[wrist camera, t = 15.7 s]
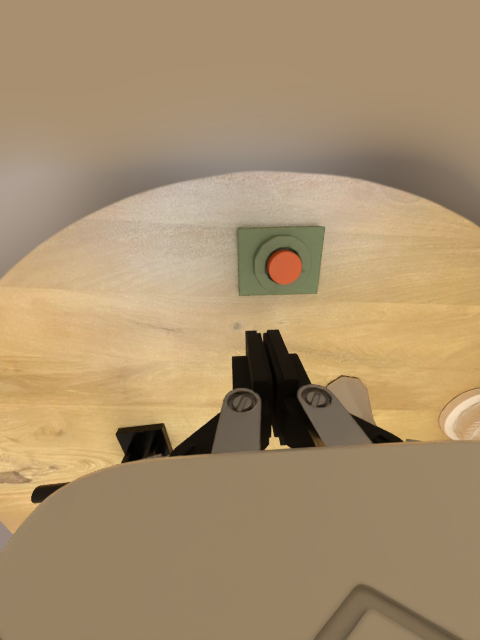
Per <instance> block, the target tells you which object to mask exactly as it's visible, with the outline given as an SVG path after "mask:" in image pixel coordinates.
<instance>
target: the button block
mask: <svg viewBox="0 0 480 640" xmlns="http://www.w3.org/2000/svg"><path fill="white" fill-rule="evenodd" d="M324 232H325V227H322V226H296V227H249V228H238V272H239V295H240V296H250V295H286V294H317V291H318V283H319V274H320V266H321V257H322V249H323V240H324ZM283 249H285V250H289V251H291V252H293V253H295V254H296V255H297V256H298V257H299V258H300V260H301V263H302V271H301V273H300V275H299V277H298V278H297V279H296V280H295V281H294V282H292V283H290V284H285V285H283V284H278V283H276V282H275V281H274V280H273V279H272V278H271V276H270V275H269V273H268V270H267V263H268V260H269V258H270V256H271V255H272V254H273V253H274V252H276V251H278V250H283Z"/></svg>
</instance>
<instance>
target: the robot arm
mask: <svg viewBox="0 0 480 640" xmlns="http://www.w3.org/2000/svg"><path fill="white" fill-rule="evenodd" d="M245 336H246V356H234V357H232V375H233V390H232V391H230V392H228V393H227V394H226V395H225V398H224V400H223V404H222V408H221V412H220V413H219V414H217V415H216V416H215V417H214V418H212V419H211V420H210V421H209V422H207V423H206V424H205V425H204V426H202V427H201V428H200V429H199V430H197V431H196V432H195V433H194V434H192V435H191V436H190V437H189V438H187V439H186V440H185V441H184V442H182V443H181V444H180V445H178V446H177V447H176V448H175V449H174V450H173V451H172V452H171V454H170V455H168V456H164V457H162V454H159V455H155V456H151V457H148V458H144V459H140V460H137V461H132V462H126V463H121V464H117V465H114V466H110V467H107V468H103V469H100V470H97V471H95V472H92V473H90V474H87V475H85V476H82V477H80V478H78V479H76V480H74V481H72V482H70V483H68V484H66V485H65V486H63V487H61V488H59V489H58V490H57V491H55V492H54V493H52V494H51V495H50V496H48V497H47V498H46V499H45V500H44V501H43V502H42V503H40V504H39V505H38V506H37V507H36V508H35V510H34V511H33V512H32V513H31V514H30V515H29V516H28V517H27V518H26V520H25V521H24V522H23V523H22V524H21V525H20V527H19V528H18V529H17V531H16V532H15V533H14V535H13V536H12V537H11V538H10V540H9V541H8V542H7V544H6V545H5V546H4V548H3V549H2V550H1V552H0V640H480V440H439V441H418V440H411V439H406V441H405V442H403V441H402V440H401V439H400V438H398V437H397V436H395V435H393V434H392V433H389V432H387V431H385V430H383V429H381V428H379V427H377V426H375V425H373V424H371V423H369V422H367V421H365V420H363V419H361V418H359V417H357V416H355V415H353V414H351V413H349V412H348V411H347V410H346V409H345V407H344V406H343V405H342V404H341V402H340V401H339V400H338V399H337V397H336V396H335V395H334V394H333V393H332V392H331V391H330V390H329V389H327V388H325V387H323V386H320V385H315V384H311V382H310V380H309V378H308V376H307V374H306V371H305V369H304V367H303V365H302V363H301V361H300V359H299V357H298V355H297V354H296V353H294V354H289V353H288V351H287V349H286V346H285V344H284V341H283V339H282V337H281V334H280V332H279V330H267V333H263V341H262V337H261V333H257V332H256V331H246V332H245ZM271 426H272V428H273V433H274V437H279V440H280V445H287V446H289V447H290V448H292V449H276V450H265V448H266V447H267V446H268V445H269V438H270V437H271Z"/></svg>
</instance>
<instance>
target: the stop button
mask: <svg viewBox="0 0 480 640" xmlns="http://www.w3.org/2000/svg"><path fill="white" fill-rule="evenodd" d="M267 270H268V273H269V275H270V276H271V278H272V279H273V280H274V281H275V282H276V283H278V284H283V285H285V284H290V283H292V282H294V281H295V280H296V279H297V278H298V277H299V275H300V273H301V271H302V263H301V260H300V258H299V257H298V256H297V255H296V254H295V253H293V252H291V251H289V250H285V249H283V250H278V251H276V252H274V253H273V254H272V255H271V256H270V258H269V260H268V263H267Z"/></svg>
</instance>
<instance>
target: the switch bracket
mask: <svg viewBox="0 0 480 640" xmlns="http://www.w3.org/2000/svg"><path fill="white" fill-rule="evenodd" d="M116 437H117V439H118V441H119V443H120V445H121V447H122V449H123V452H124V454H125V456H124V458H123V460H122V462H121V463H126V462H132V461H137V460H140V459H144V458H148V457H151V456H155V455H159V454H162V457H164V456H168V455H170V454H171V452H172V451H173V450H172V447H171V444H170V441H169V438H168V435H167V432H166V429H165V427H164V424H155V425H146V426H138V427H129V428H121V429H118V431H117V432H116Z"/></svg>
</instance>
